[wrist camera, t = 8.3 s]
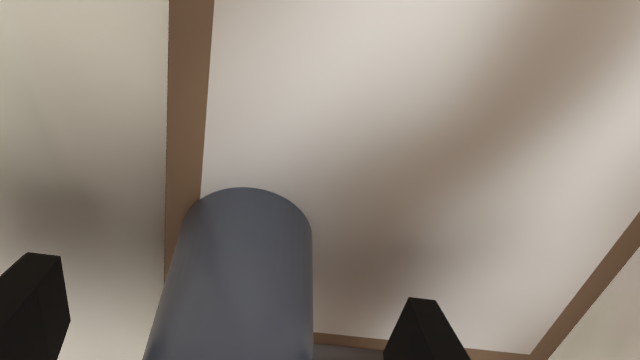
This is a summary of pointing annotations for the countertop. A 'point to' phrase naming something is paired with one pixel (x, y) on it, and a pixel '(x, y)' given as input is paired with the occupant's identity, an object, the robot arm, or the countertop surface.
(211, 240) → the bottle
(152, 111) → the countertop surface
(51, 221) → the countertop surface
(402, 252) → the picture frame
